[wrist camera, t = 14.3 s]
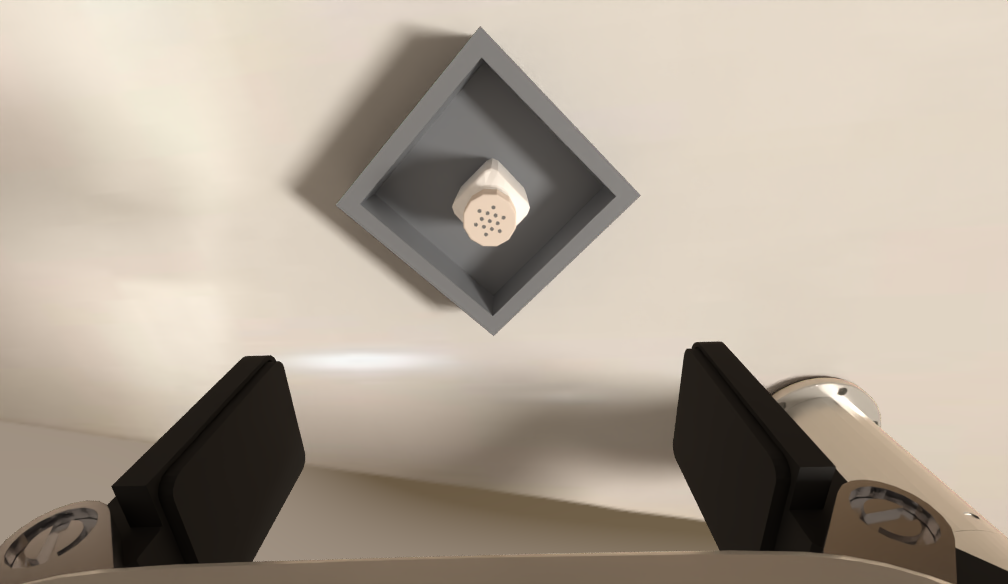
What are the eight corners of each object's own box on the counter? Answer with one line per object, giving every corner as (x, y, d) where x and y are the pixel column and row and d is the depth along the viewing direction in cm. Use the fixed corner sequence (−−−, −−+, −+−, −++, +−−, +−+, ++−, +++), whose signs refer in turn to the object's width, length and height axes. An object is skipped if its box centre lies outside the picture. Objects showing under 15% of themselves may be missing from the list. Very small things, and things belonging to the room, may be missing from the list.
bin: (623, 183, 37) (640, 195, 32) (494, 309, 41) (493, 336, 36) (483, 36, 33) (480, 26, 28) (356, 192, 37) (335, 205, 33)
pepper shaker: (455, 191, 36) (441, 220, 27) (492, 153, 35) (489, 171, 26) (492, 227, 37) (489, 266, 28) (529, 192, 36) (537, 221, 27)
